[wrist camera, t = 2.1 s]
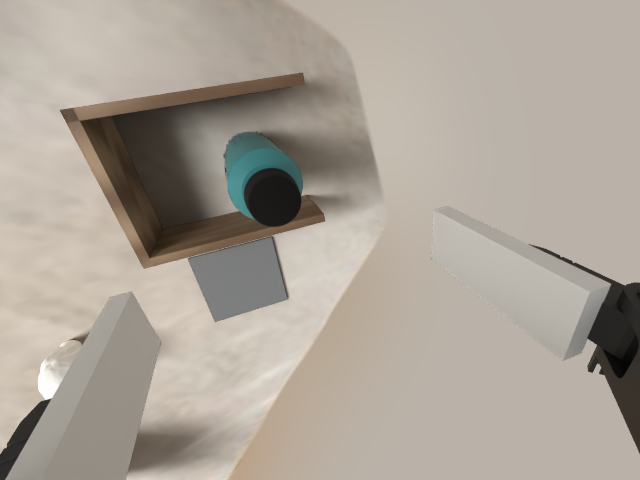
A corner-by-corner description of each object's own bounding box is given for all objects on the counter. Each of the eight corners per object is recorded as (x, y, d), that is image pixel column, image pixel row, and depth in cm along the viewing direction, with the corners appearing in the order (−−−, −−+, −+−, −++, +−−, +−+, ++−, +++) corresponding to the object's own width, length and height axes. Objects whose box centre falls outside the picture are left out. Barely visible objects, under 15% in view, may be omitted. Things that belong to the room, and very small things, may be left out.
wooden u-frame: (96, 107, 31) (59, 110, 24) (287, 77, 35) (303, 72, 28) (157, 238, 38) (143, 268, 31) (308, 201, 42) (325, 221, 35)
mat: (188, 258, 41) (187, 259, 40) (271, 236, 43) (271, 237, 43) (214, 320, 46) (214, 322, 46) (286, 298, 49) (287, 299, 48)
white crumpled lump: (93, 384, 35) (84, 439, 39) (116, 330, 42) (106, 382, 46) (25, 382, 32) (24, 442, 37) (62, 325, 39) (57, 381, 44)
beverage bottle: (213, 141, 35) (205, 182, 18) (262, 119, 36) (299, 139, 19) (239, 188, 39) (252, 260, 21) (284, 167, 39) (332, 221, 22)
